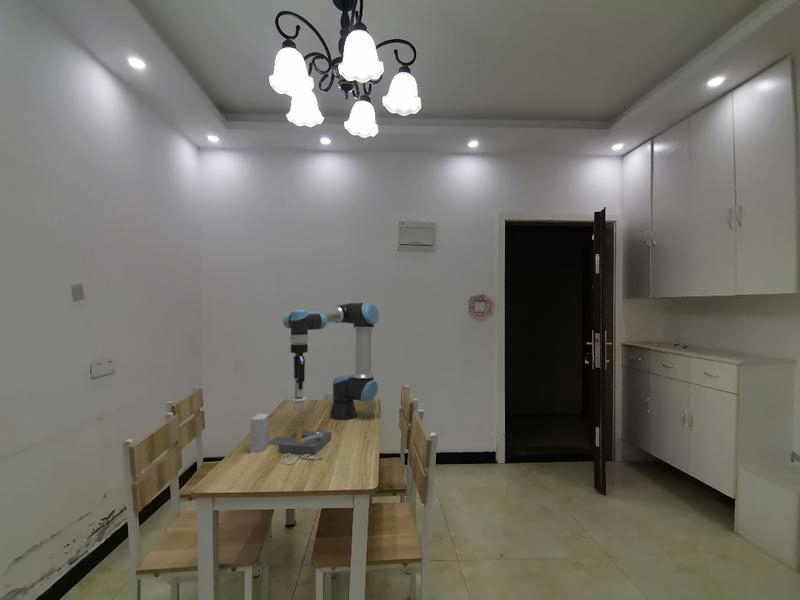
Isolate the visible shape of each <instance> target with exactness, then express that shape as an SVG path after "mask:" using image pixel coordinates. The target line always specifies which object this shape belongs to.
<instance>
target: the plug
mask: <svg viewBox="0 0 800 600" xmlns="http://www.w3.org/2000/svg"><path fill="white" fill-rule="evenodd" d="M296 381H298V380H297V378H294V396H293V397H291V402H292V403H293V411H303V410H305V402H306V401H307V400H308V397H307V396H304V395H303V397H297V383H296Z"/></svg>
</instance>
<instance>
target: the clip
mask: <svg viewBox="0 0 800 600" xmlns="http://www.w3.org/2000/svg"><path fill="white" fill-rule="evenodd" d="M295 430H296V431H295V433H296V442H298V443H300V442H303V441H306V440H310V439H313V438H316V437H320V436H323V433H322V432H323V431H322V430H314V431H315V435H312V436H308V437H305V438H302V430H303V427H302V426H298V427H296V429H295ZM321 431H322V432H321Z"/></svg>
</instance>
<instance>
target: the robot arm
mask: <svg viewBox="0 0 800 600" xmlns="http://www.w3.org/2000/svg"><path fill="white" fill-rule="evenodd" d="M379 318H380V316H379V311H378V308H377V306H376V305H375V304H373V303H369V302H368V303H367V302H350V303H343V304H341V305H339V304H338V305H335V306H333V307H331V308H326V309H325V308H324V309H318V310H311V311H308V310H307V309H292V310H291V311H290V313H286V314H285V315H284V316H283V317H282V324H283V326H284V327H285V328H286V329H290V336H289V340H290V343H291V344H290V353H291V354H295V355H294V356H293V379H295V378H297V380H298V381H296V383H297V397H303V396H304V382H305V373H306V371H305V367H306V366H305V365H306V364H305V363H306V359H305V356H304V354H305V353H308V351H309V346H308V341H309V336H308V335H309V333H308V332H309V331H310V330H312V331H313V330H314V331H315V330H317V331H318V330H322V329H325V327H326V326H327V324H329V323H330V324H331V323H334V324H339V323H341V324H342V323H343V324H352V325H353V329H354V330H355V373H354V374H345V375H338V376H335V377H334V378H333V383H332V394H333V395H332V398H333V399H332V400H333V401H332V406H331V409H330V413H329V418H330V419H333V420H343V419H345V420H351V418H352V419H355V418H357V415H358V414H357V413H358V412H357V409H356V405H355V402H354V401H361V402H371V401H373V400H374V399H375V397H376V396H377V394H378V389H379V385H378V382H377V381H376V380H375V379H374V375H373V374H372V330H373V329H374V328H375V325H376V324H377V323H378V321H379ZM354 417H355V418H354Z"/></svg>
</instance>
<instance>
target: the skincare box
mask: <svg viewBox="0 0 800 600" xmlns="http://www.w3.org/2000/svg"><path fill="white" fill-rule="evenodd" d="M249 423H250V424H249V425H250V428H249V453H250V454H251V453H264V451H265V452H266V450H267V449H268V447H270V445H269V441H270V413H256V414H255V415H254V416H253V417H252V418H250V422H249Z"/></svg>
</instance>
